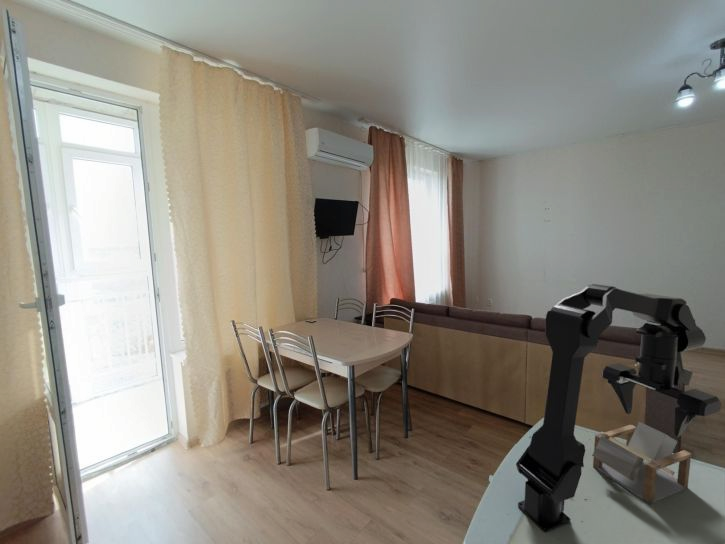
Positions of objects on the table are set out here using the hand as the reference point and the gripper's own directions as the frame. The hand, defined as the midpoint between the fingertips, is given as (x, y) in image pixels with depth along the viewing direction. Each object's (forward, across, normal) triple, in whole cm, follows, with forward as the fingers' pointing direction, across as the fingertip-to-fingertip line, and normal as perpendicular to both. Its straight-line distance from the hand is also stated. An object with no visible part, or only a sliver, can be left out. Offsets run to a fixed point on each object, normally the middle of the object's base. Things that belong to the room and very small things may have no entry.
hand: (651, 424), depth 72 cm
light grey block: (+7, 0, +1) cm, 7 cm away
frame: (+12, 0, +3) cm, 12 cm away
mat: (+12, 0, +3) cm, 12 cm away
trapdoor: (+10, 0, +7) cm, 12 cm away
